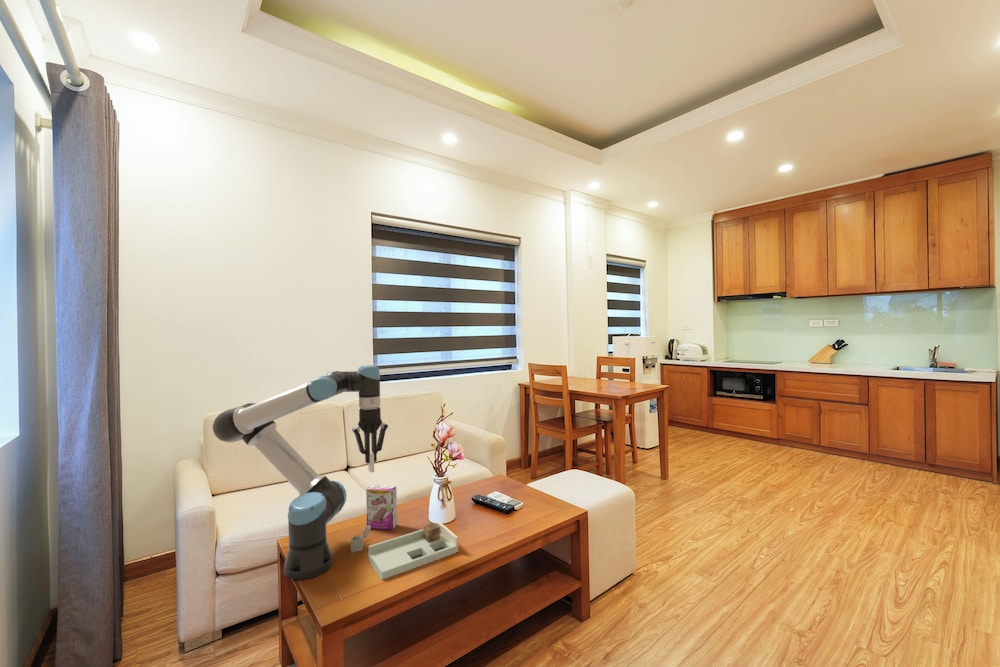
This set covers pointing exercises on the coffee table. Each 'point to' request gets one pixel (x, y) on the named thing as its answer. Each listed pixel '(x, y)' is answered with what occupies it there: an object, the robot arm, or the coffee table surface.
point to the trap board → (410, 552)
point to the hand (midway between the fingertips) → (371, 471)
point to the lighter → (359, 540)
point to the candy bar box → (381, 507)
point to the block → (431, 532)
